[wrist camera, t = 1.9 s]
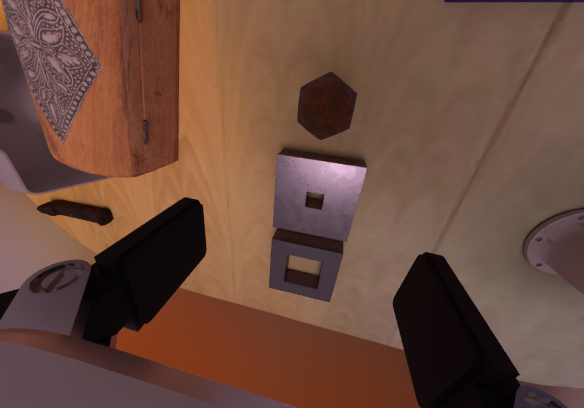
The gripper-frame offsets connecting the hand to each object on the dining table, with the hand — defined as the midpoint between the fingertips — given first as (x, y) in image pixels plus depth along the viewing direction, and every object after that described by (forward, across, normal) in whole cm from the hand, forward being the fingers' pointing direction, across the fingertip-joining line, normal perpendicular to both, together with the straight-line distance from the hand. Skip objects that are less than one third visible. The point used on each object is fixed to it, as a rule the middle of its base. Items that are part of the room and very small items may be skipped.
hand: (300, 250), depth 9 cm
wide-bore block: (+29, -1, +27) cm, 40 cm away
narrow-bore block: (+29, 0, +10) cm, 31 cm away
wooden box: (+30, +34, -6) cm, 46 cm away
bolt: (+29, +1, -5) cm, 30 cm away
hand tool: (+30, +59, +29) cm, 72 cm away
